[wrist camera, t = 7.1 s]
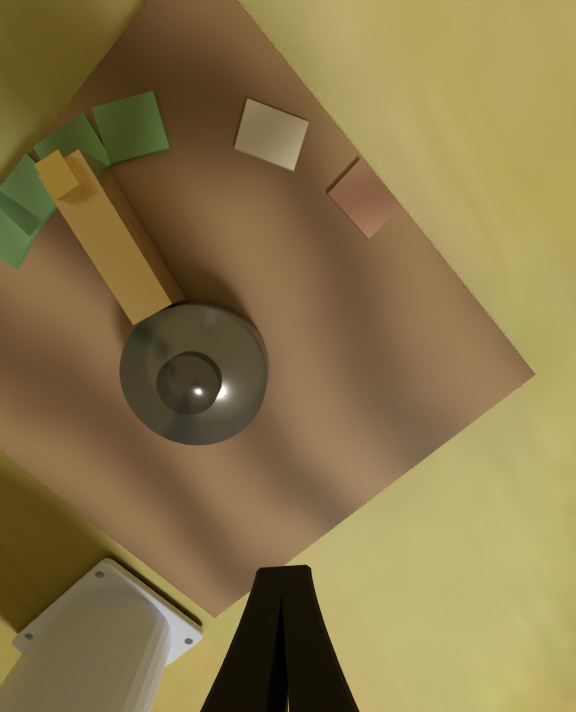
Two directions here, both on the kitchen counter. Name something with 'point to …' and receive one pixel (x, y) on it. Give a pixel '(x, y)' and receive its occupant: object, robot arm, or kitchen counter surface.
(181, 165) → the brown flat square slab
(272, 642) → the robot arm
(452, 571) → the kitchen counter surface
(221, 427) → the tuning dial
